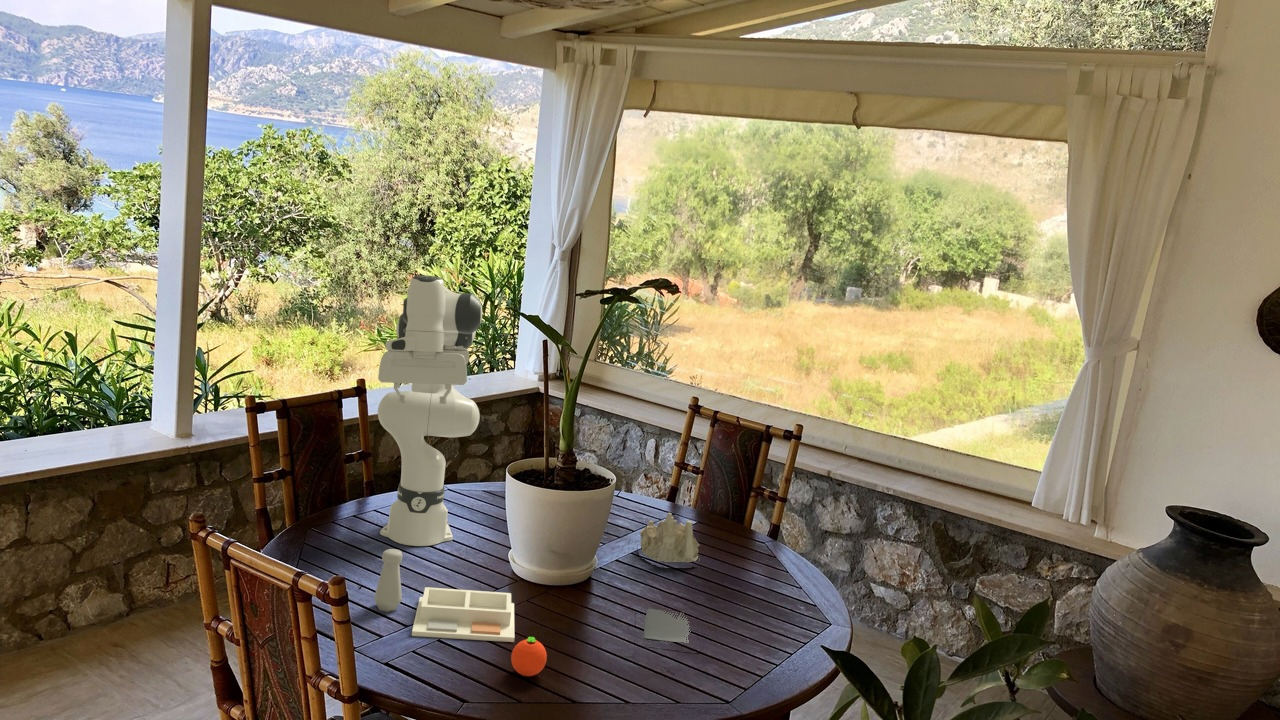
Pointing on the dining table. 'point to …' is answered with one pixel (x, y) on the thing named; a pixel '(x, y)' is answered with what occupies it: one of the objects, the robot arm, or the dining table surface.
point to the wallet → (665, 627)
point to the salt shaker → (389, 581)
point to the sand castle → (669, 541)
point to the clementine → (529, 657)
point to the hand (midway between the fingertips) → (421, 403)
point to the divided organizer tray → (465, 615)
